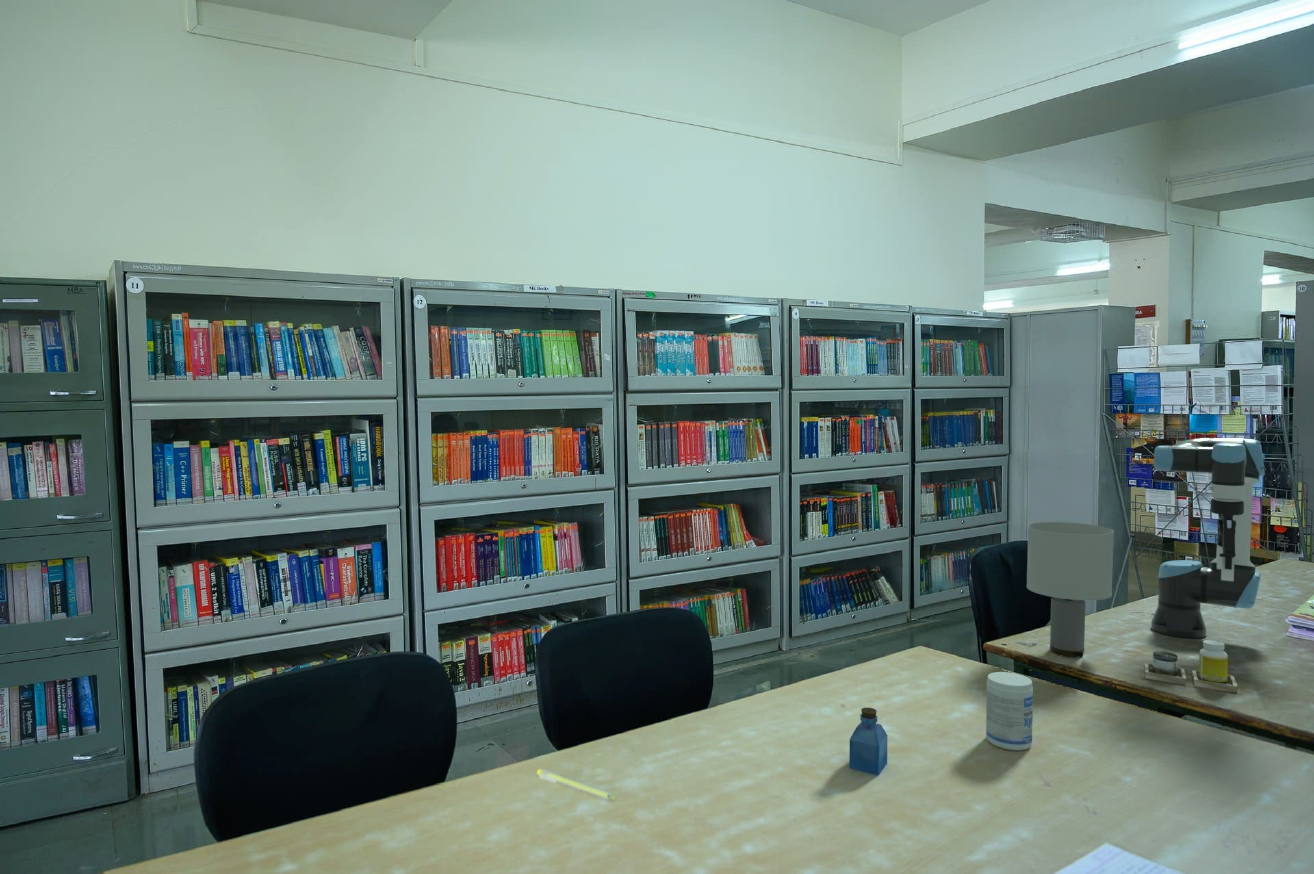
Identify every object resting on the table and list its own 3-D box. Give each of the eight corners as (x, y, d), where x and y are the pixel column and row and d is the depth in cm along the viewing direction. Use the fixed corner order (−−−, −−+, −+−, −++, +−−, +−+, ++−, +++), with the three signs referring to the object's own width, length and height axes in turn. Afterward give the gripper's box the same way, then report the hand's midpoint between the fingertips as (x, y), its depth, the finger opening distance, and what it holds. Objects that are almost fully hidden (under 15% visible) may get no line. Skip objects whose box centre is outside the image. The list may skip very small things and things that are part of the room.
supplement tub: (1035, 754, 171) (1036, 688, 170) (987, 749, 174) (989, 683, 173) (1028, 736, 180) (1029, 673, 179) (983, 731, 183) (984, 669, 182)
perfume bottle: (878, 775, 162) (879, 718, 161) (849, 768, 165) (849, 712, 165) (887, 763, 167) (887, 708, 167) (858, 756, 171) (859, 702, 170)
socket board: (1140, 670, 222) (1140, 661, 222) (1236, 685, 211) (1237, 675, 211) (1141, 683, 213) (1141, 673, 213) (1241, 699, 201) (1242, 688, 201)
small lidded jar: (1152, 671, 219) (1152, 650, 218) (1176, 674, 216) (1177, 653, 215) (1152, 677, 214) (1153, 655, 213) (1177, 681, 211) (1178, 659, 210)
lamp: (1066, 637, 253) (1068, 520, 251) (1128, 660, 231) (1132, 532, 229) (1008, 645, 246) (1010, 524, 244) (1067, 669, 224) (1070, 536, 222)
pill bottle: (1233, 687, 206) (1234, 645, 205) (1209, 687, 206) (1210, 646, 205) (1216, 679, 212) (1217, 638, 212) (1193, 679, 212) (1194, 639, 212)
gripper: (1207, 492, 230) (1205, 563, 232) (1214, 505, 209) (1212, 583, 211) (1239, 493, 226) (1236, 566, 228) (1249, 507, 205) (1247, 587, 207)
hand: (1224, 574), depth 219 cm, fingers open, 13 cm apart
